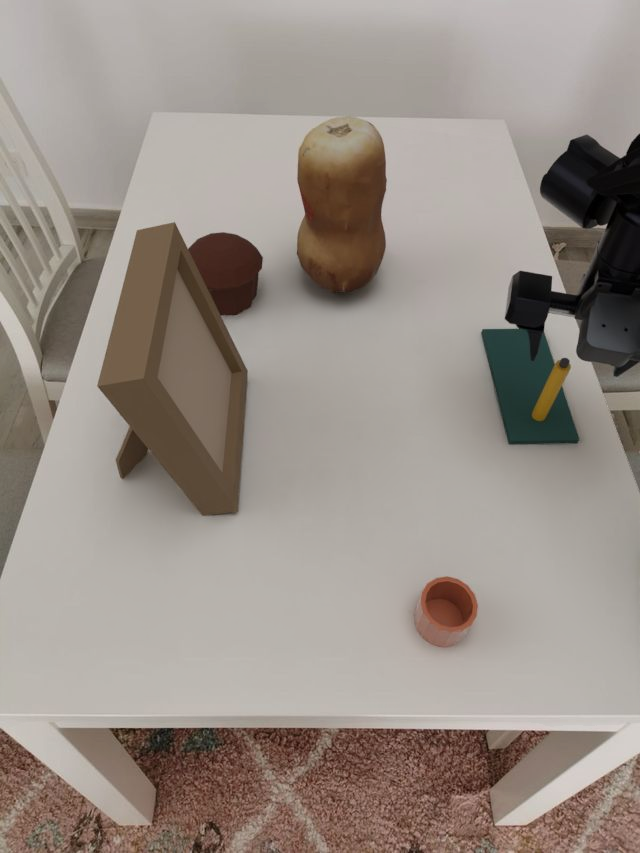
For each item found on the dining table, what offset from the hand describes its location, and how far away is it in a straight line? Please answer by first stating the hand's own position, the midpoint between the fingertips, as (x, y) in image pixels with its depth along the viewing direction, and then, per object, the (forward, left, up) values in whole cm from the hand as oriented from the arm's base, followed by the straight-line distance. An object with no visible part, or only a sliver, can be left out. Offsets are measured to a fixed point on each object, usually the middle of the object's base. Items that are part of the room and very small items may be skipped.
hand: (573, 366), depth 71 cm
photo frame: (+44, +13, -13) cm, 48 cm away
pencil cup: (+9, +28, -13) cm, 33 cm away
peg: (+1, -2, -12) cm, 12 cm away
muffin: (+48, -14, -13) cm, 52 cm away
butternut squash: (+32, -22, -13) cm, 41 cm away
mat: (+2, -8, -13) cm, 15 cm away
